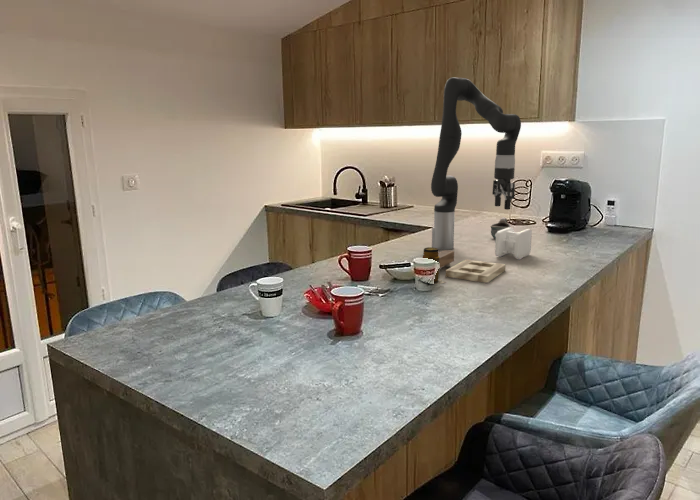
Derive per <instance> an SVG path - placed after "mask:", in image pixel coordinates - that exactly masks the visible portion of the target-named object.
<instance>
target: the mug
mask: <svg viewBox="0 0 700 500" xmlns="http://www.w3.org/2000/svg"><path fill="white" fill-rule="evenodd" d="M508 227H509V228H512V227H511V224H509V222H508V219H507V218H506V217H501V218H500V219H499V221H498V222H496V223H492V224H490V234H491V236H492V238H493V239H495V240H496V237H495V234H496V233H497V232H498V231H500V230H503V229H505V228H508Z"/></svg>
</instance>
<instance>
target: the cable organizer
mask: <svg viewBox="0 0 700 500" xmlns="http://www.w3.org/2000/svg"><path fill="white" fill-rule="evenodd" d="M532 235H533V230H532V228H531V229H530V228H526V229H523V230H522V231H518V232H516V231H515V229H514V227H510V228H509V227H508V228H505V229H503V230H500V231H498V232H497V233H496V234H495V237H496V239H495V241H494V242H495V245H494V248H495V249H494V254H495V256H496V257H498V258H501V257H503V256H505V255H508V254H512V256H514V258H515V259H517V260H519V261H520V260H522V259H523V258H524V257H525V258H526V257H528V256H529V255H530V254H531V251H532V237H533V236H532Z"/></svg>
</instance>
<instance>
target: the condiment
mask: <svg viewBox="0 0 700 500" xmlns="http://www.w3.org/2000/svg"><path fill="white" fill-rule="evenodd" d="M438 253H439V249H437V248H433V247H432V246H431V247H430V246H428V247H424V248H423V254H422V258H428V259H433V260H435V261H437V262H439V256H438ZM439 277H440V268H439V269H438V271H437V273H436V275H435V279H434V285H441V284H446V283H447V281H444V280H442V279H439Z"/></svg>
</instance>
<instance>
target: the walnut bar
mask: <svg viewBox="0 0 700 500" xmlns="http://www.w3.org/2000/svg"><path fill="white" fill-rule="evenodd" d="M438 256H439V263H440V268H439V269H441V268H443V267H446V268H447V267H449V268H451V267H450V266H451V263H452V262H455V250H441V251H440V252H438Z"/></svg>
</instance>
